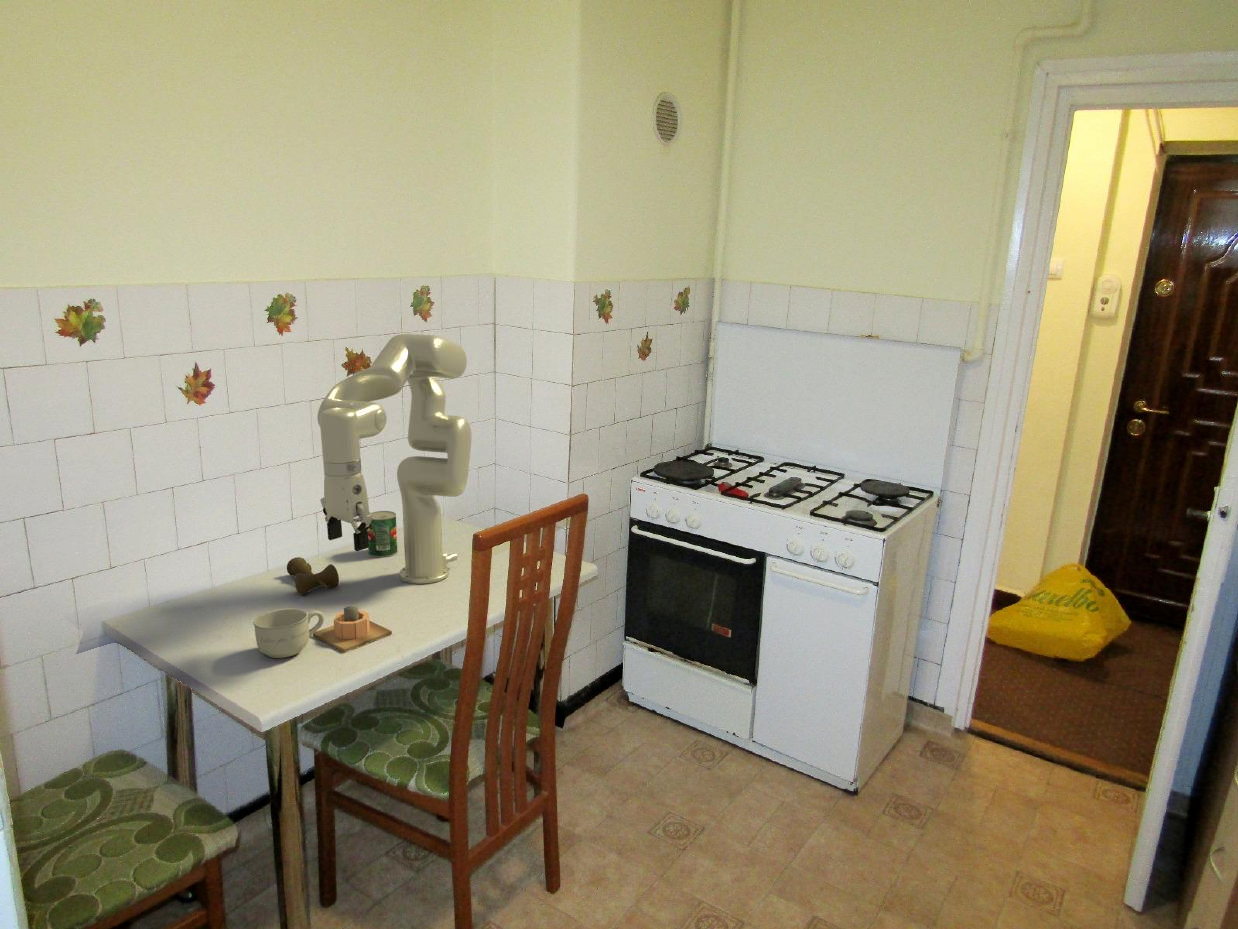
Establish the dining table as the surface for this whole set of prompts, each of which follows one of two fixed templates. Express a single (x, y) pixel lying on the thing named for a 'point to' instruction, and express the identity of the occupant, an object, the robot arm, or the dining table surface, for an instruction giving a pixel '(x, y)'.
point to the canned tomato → (382, 534)
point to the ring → (351, 626)
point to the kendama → (311, 576)
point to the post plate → (350, 644)
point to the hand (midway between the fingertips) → (348, 543)
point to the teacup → (284, 631)
